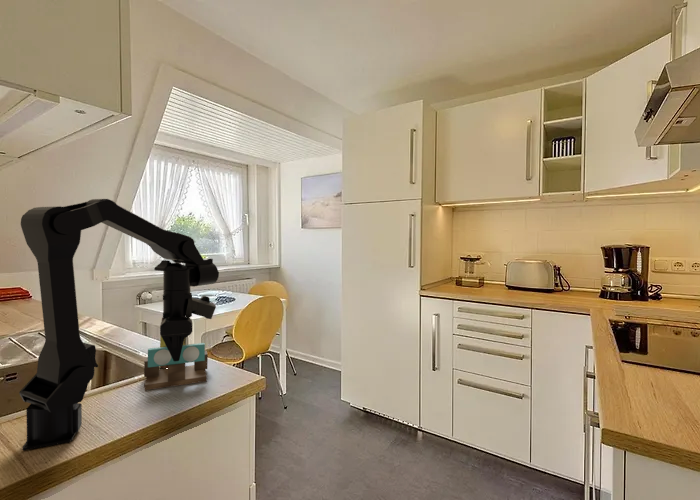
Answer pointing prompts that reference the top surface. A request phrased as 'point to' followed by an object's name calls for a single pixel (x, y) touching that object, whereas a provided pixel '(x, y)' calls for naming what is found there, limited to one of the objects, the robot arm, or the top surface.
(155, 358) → the glasses
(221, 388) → the top surface
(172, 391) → the top surface
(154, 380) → the stand
